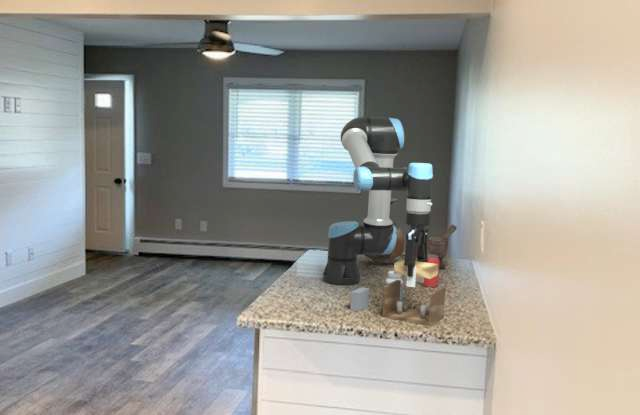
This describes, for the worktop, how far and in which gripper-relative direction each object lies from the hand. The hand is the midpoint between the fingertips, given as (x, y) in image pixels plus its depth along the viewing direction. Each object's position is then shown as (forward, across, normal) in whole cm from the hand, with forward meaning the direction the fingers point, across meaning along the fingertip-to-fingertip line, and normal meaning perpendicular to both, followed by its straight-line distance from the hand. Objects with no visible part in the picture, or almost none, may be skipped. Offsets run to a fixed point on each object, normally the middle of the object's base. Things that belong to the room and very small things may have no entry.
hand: (415, 284), depth 191 cm
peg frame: (+11, 0, 0) cm, 11 cm away
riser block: (+11, 0, +19) cm, 22 cm away
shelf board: (-3, 0, 0) cm, 3 cm away
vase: (+10, +71, +42) cm, 83 cm away
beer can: (+11, +45, +10) cm, 47 cm away
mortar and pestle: (+10, +81, +18) cm, 84 cm away
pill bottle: (+11, +11, +12) cm, 19 cm away
